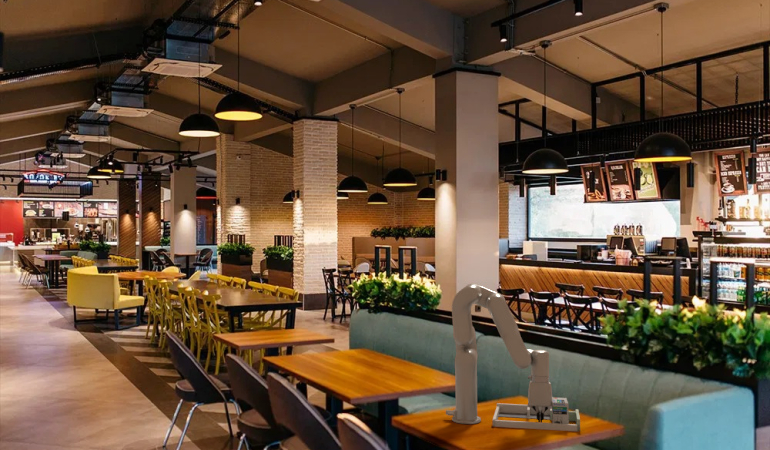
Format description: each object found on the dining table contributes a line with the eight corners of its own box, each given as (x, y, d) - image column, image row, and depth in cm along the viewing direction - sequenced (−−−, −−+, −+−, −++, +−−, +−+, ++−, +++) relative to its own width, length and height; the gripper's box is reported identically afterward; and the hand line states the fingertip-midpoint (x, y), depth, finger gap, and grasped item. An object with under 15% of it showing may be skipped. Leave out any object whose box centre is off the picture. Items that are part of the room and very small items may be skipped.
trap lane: (492, 426, 292) (492, 414, 292) (497, 411, 316) (497, 401, 316) (580, 431, 283) (580, 419, 283) (577, 416, 308) (577, 405, 308)
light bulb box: (569, 428, 288) (568, 403, 288) (552, 428, 289) (552, 402, 289) (567, 422, 298) (567, 397, 298) (551, 421, 299) (551, 396, 300)
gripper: (522, 379, 294) (522, 422, 294) (558, 381, 291) (558, 425, 290) (522, 376, 301) (522, 418, 301) (557, 378, 298) (557, 420, 297)
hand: (540, 421), depth 296 cm, fingers closed
